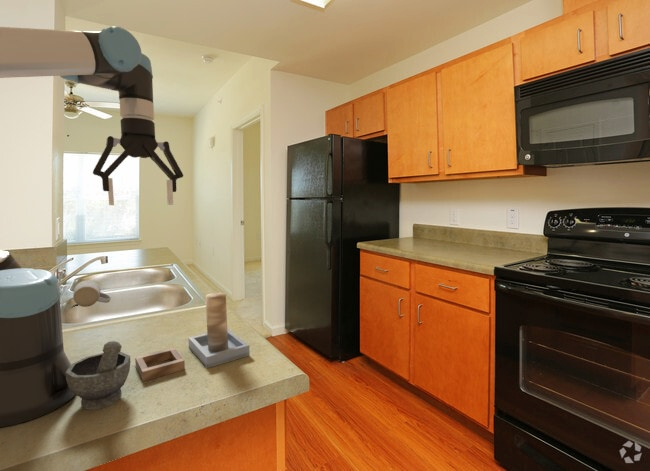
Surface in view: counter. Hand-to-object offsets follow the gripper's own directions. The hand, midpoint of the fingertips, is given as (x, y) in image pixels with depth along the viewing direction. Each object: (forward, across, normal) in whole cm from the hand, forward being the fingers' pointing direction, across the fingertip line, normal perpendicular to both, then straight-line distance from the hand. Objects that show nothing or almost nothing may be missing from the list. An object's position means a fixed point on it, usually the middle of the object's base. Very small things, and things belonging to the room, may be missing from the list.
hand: (142, 205), depth 89 cm
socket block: (+35, +2, +21) cm, 41 cm away
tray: (+35, -11, +21) cm, 42 cm away
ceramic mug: (+35, +10, -42) cm, 55 cm away
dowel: (+34, -11, +21) cm, 41 cm away
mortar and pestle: (+35, +13, +28) cm, 47 cm away
